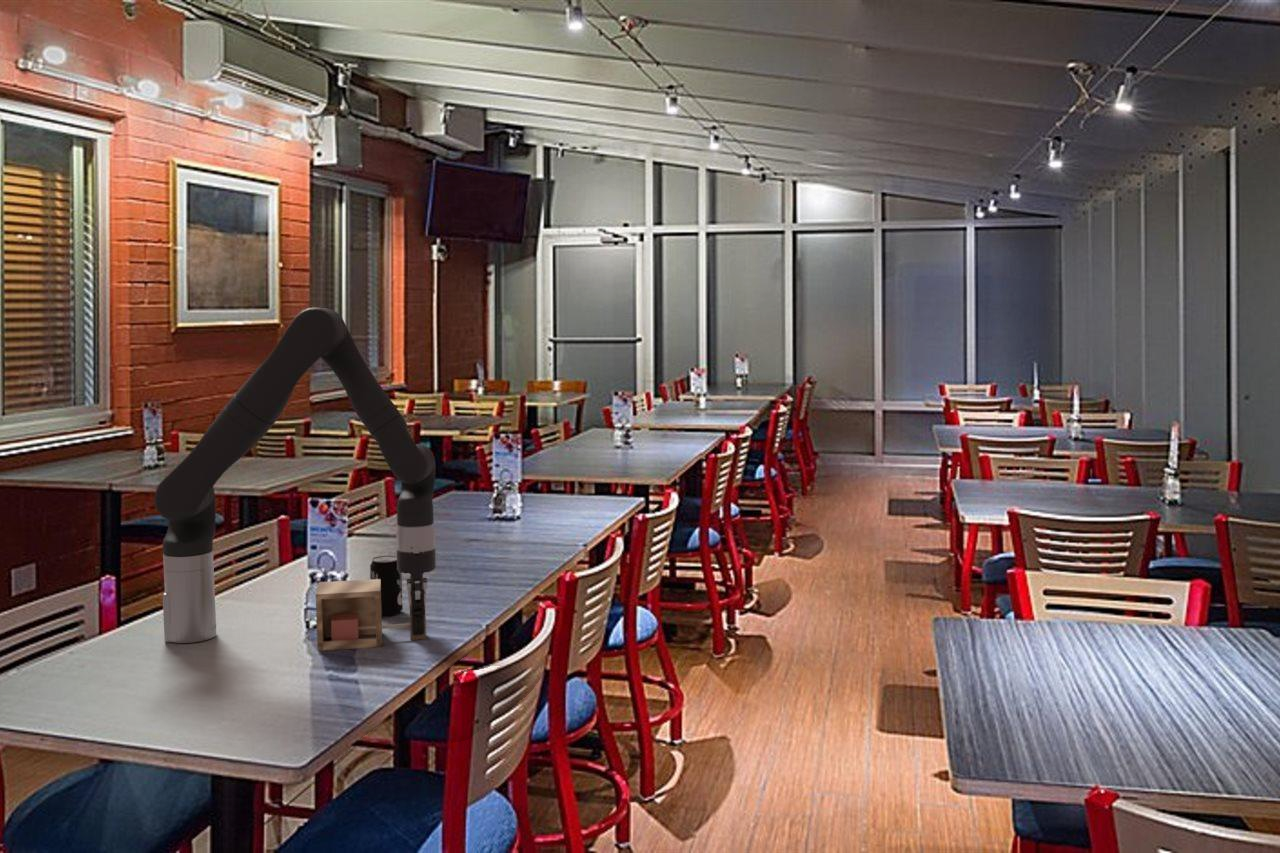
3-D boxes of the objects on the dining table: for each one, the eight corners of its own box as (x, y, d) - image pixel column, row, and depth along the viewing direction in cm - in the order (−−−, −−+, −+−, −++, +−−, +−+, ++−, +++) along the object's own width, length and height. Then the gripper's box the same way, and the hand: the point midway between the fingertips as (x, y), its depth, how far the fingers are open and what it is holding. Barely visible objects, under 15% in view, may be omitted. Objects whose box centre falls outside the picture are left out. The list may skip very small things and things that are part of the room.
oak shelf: (317, 650, 222) (315, 594, 221) (320, 636, 232) (318, 582, 231) (381, 646, 225) (380, 590, 224) (382, 632, 235) (380, 579, 233)
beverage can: (395, 618, 246) (393, 562, 244) (366, 616, 247) (364, 560, 246) (407, 610, 252) (406, 555, 251) (379, 608, 253) (377, 554, 252)
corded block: (331, 646, 225) (330, 610, 225) (333, 638, 230) (331, 604, 229) (426, 640, 229) (425, 605, 228) (425, 633, 234) (424, 599, 233)
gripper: (396, 540, 235) (398, 623, 237) (396, 554, 222) (399, 643, 224) (433, 538, 237) (435, 621, 239) (436, 553, 223) (438, 640, 225)
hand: (418, 631), depth 231 cm, fingers closed on corded block, 3 cm apart
